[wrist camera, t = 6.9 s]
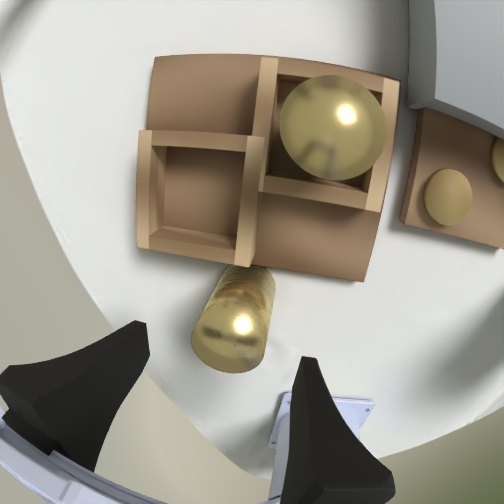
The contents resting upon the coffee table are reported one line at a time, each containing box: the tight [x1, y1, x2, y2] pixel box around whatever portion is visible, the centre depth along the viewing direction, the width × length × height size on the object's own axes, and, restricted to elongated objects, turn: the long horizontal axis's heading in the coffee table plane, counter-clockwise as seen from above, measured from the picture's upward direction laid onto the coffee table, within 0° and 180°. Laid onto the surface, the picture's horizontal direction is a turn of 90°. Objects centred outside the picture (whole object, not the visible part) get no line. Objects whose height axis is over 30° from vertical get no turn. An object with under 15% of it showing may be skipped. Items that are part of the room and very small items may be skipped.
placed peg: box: [279, 75, 387, 180], centre depth 11 cm, size 4×4×6 cm
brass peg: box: [191, 264, 275, 373], centre depth 16 cm, size 4×4×6 cm
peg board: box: [136, 54, 401, 282], centre depth 15 cm, size 12×14×3 cm
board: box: [399, 107, 504, 249], centre depth 13 cm, size 8×9×2 cm
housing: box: [406, 0, 504, 140], centre depth 9 cm, size 10×11×4 cm
